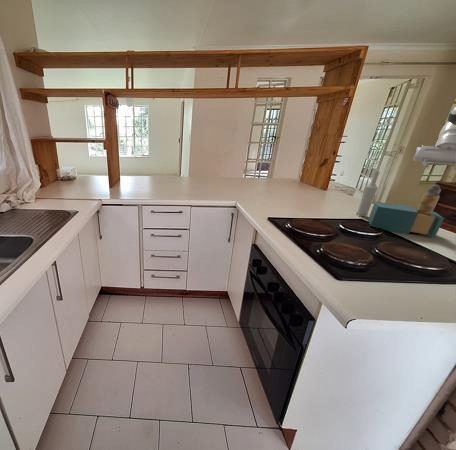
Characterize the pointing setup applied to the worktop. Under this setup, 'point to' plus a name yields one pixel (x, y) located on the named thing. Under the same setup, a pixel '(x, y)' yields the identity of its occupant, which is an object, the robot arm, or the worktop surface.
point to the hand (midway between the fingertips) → (440, 168)
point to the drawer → (427, 224)
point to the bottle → (368, 196)
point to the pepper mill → (429, 201)
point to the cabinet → (392, 217)
